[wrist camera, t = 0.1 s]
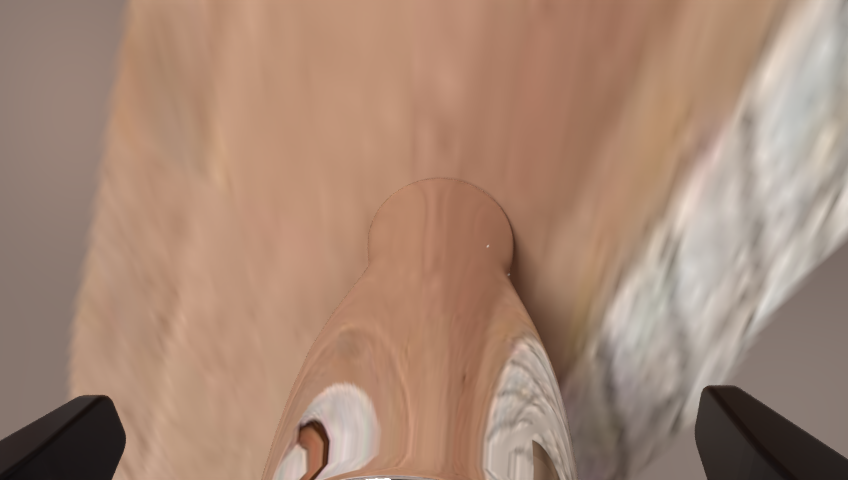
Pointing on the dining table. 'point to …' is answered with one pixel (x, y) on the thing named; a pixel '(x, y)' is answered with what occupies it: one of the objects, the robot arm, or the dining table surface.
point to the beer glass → (428, 359)
